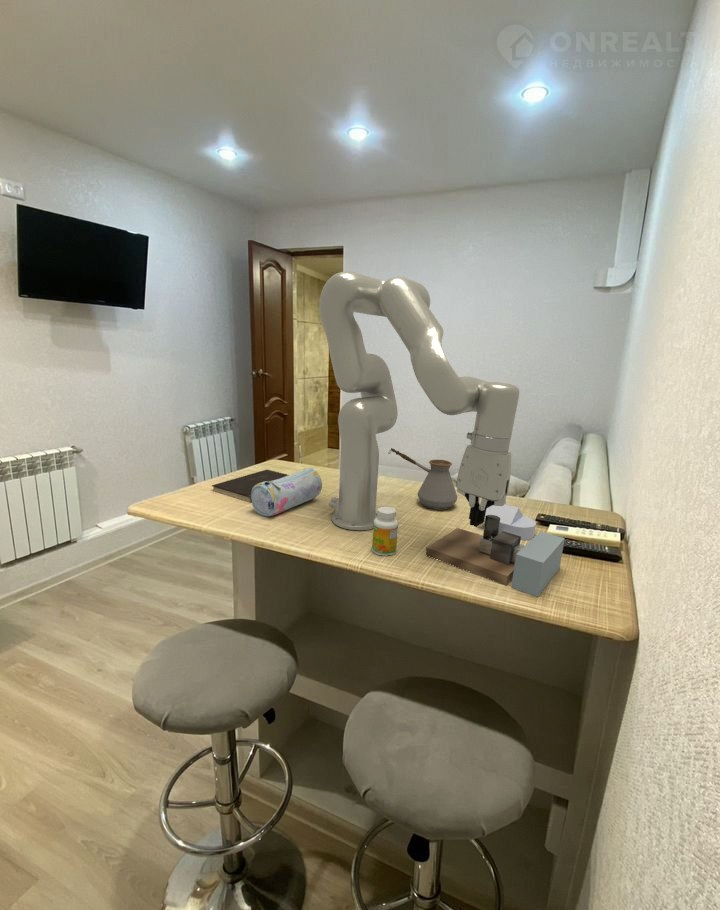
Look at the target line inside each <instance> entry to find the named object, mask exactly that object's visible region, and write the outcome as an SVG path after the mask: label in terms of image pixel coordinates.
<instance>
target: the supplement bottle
mask: <svg viewBox="0 0 720 910" xmlns="http://www.w3.org/2000/svg"><path fill="white" fill-rule="evenodd" d="M376 513H377V516H378V517H376V518H375V519H374V524H373V529H372V539H371V541H372V542H371V543H372V544H371V550H372V552H373V553H374V554H375V555H378V556H381V555H382V557H389V556H388V555H390V556H392V555H395V554H396V552H397V546H398V545H397V543H398V532H399V531H398V529H399V521H398V520H397V518H396V516H397V509H395V508H394V507H390V506H381V507H378V509H377V510H376Z"/></svg>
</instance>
